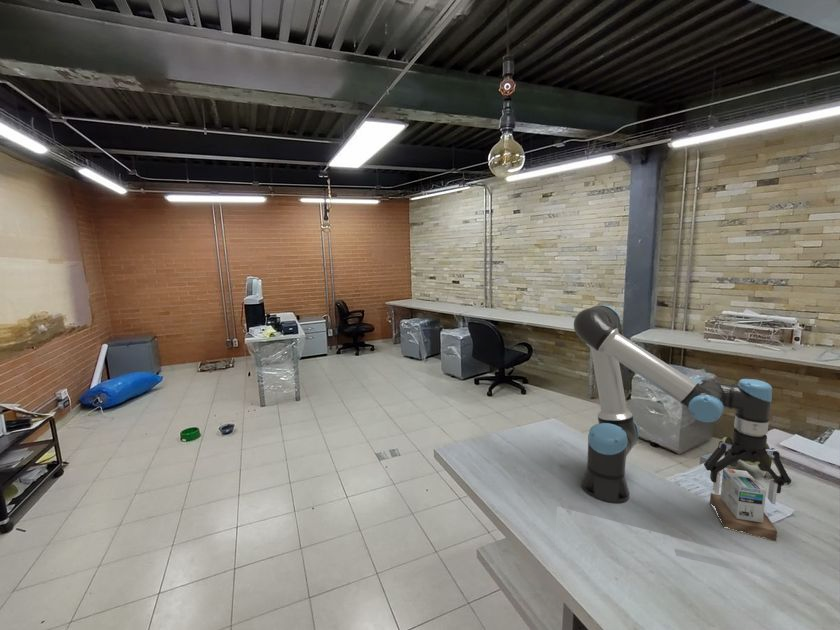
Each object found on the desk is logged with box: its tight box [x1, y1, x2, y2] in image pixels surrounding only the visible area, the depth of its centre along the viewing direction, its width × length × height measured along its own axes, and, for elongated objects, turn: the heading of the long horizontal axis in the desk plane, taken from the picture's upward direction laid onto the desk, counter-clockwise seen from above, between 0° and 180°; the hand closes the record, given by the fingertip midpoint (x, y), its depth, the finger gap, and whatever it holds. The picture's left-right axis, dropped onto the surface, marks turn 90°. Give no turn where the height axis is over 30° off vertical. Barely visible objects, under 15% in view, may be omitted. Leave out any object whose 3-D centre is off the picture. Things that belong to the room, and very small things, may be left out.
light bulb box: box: [720, 467, 767, 523], centre depth 114 cm, size 11×7×11 cm, turn 163°
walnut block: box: [709, 492, 778, 542], centre depth 115 cm, size 12×14×5 cm
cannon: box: [721, 436, 773, 472], centre depth 151 cm, size 25×12×11 cm, turn 159°
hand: (742, 496), depth 114 cm, fingers open, 13 cm apart
